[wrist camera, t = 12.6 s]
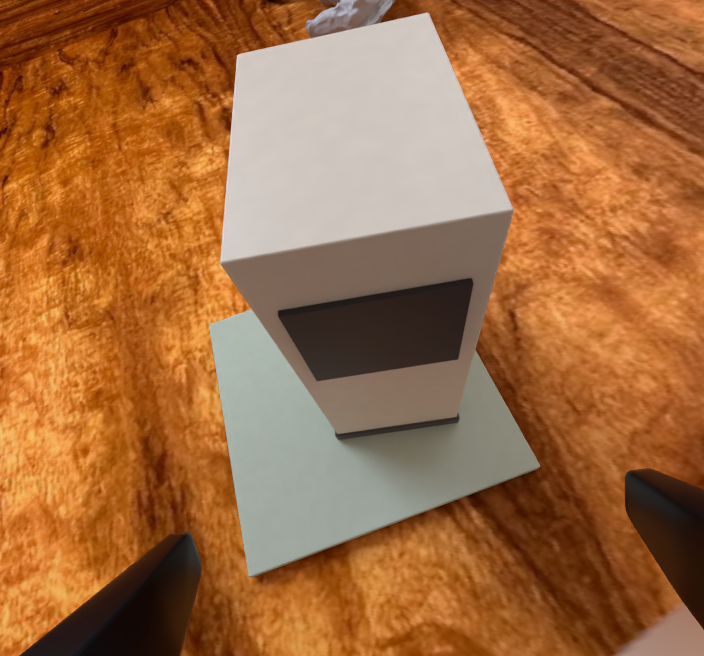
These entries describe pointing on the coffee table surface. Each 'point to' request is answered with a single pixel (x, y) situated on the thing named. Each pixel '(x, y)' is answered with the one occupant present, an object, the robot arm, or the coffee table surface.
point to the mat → (343, 454)
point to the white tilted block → (364, 220)
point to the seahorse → (347, 16)
